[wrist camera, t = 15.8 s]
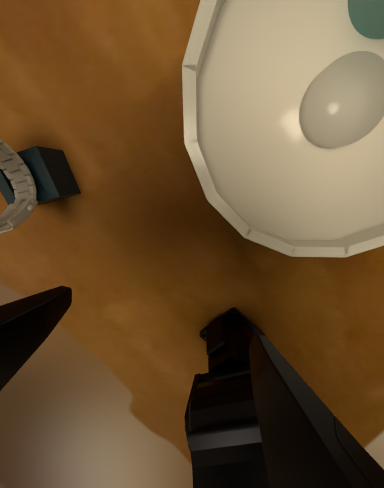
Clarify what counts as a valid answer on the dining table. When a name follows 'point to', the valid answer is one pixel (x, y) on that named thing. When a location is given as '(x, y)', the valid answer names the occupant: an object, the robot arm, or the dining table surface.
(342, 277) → the dining table surface
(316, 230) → the groove tray
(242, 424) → the robot arm
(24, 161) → the watch
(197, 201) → the dining table surface
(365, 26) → the bead jar
